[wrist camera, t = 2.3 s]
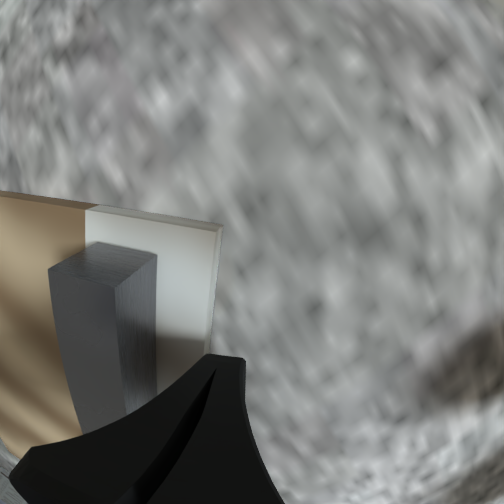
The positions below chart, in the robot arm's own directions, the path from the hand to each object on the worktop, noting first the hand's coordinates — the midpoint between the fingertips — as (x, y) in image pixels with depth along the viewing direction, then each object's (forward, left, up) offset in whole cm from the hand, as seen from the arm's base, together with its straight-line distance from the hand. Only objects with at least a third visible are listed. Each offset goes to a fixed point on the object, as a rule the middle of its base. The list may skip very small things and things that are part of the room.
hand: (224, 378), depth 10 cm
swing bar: (-3, +4, -1) cm, 5 cm away
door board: (-8, +11, -2) cm, 14 cm away
